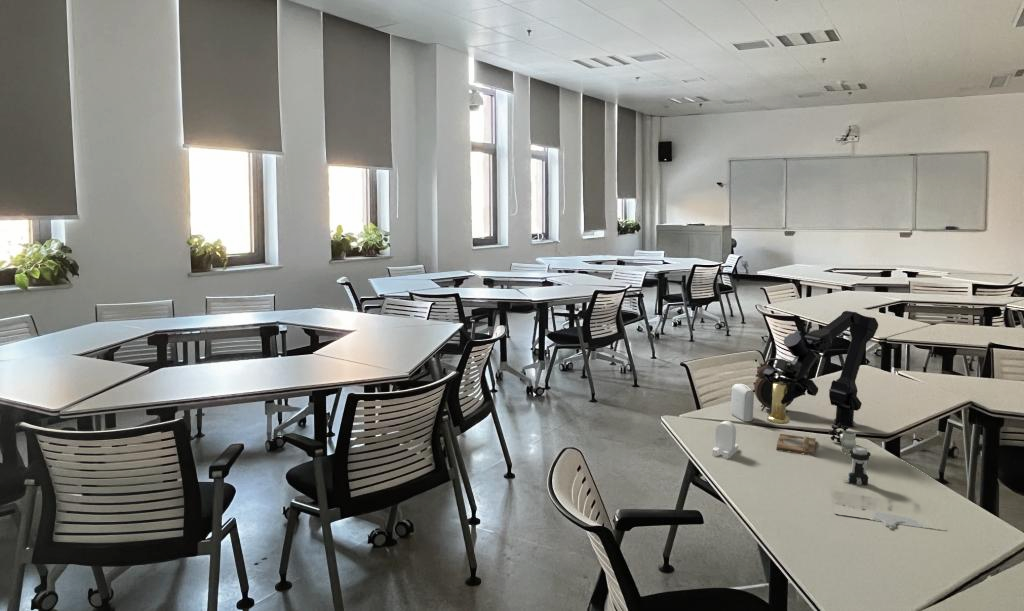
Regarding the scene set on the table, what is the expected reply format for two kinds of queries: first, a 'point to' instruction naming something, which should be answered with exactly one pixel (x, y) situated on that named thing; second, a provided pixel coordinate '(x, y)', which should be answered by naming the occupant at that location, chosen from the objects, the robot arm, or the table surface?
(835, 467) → the table surface
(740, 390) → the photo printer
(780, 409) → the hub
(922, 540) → the table surface
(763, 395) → the alarm clock
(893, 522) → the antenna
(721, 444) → the white phone stand
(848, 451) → the valve
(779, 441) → the base plate
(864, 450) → the black white upright piece
